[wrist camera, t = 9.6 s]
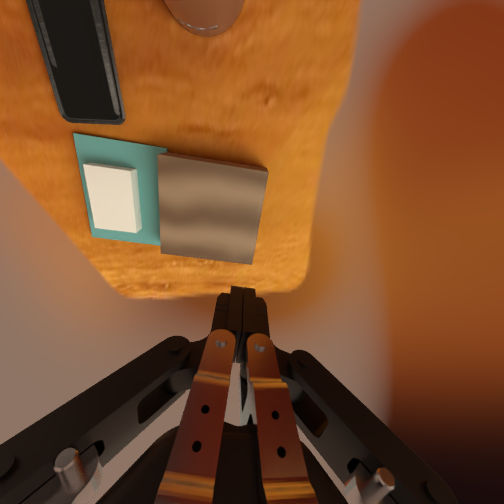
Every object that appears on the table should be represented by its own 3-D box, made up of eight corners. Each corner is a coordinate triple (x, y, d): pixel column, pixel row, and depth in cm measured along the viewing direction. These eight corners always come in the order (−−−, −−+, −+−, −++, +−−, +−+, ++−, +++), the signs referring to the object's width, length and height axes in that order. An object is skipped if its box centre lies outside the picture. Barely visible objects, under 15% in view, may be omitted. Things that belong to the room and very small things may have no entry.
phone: (90, -49, 22) (124, 124, 29) (97, -41, 23) (128, 125, 30) (8, -55, 22) (61, 122, 29) (18, -47, 23) (67, 122, 30)
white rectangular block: (130, 171, 30) (136, 169, 32) (83, 164, 30) (92, 162, 31) (136, 233, 34) (141, 228, 36) (94, 227, 34) (102, 223, 35)
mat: (76, 133, 30) (72, 133, 30) (167, 148, 31) (166, 148, 31) (94, 235, 37) (92, 236, 36) (169, 244, 38) (168, 246, 37)
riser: (167, 152, 31) (157, 154, 28) (266, 168, 33) (268, 172, 29) (168, 242, 38) (160, 253, 34) (251, 252, 39) (252, 264, 35)
